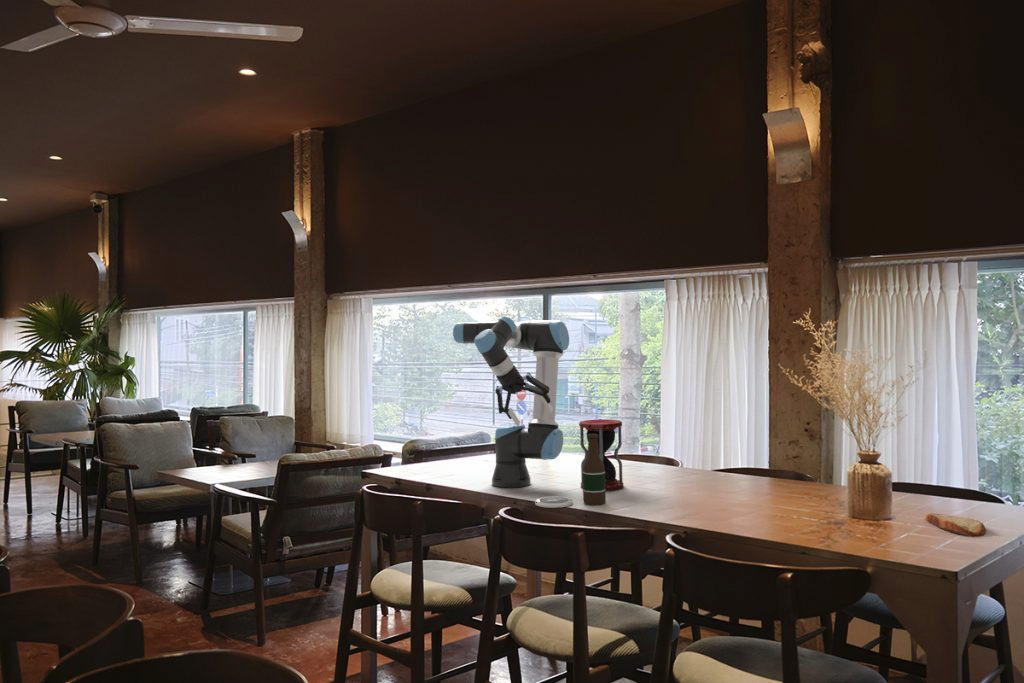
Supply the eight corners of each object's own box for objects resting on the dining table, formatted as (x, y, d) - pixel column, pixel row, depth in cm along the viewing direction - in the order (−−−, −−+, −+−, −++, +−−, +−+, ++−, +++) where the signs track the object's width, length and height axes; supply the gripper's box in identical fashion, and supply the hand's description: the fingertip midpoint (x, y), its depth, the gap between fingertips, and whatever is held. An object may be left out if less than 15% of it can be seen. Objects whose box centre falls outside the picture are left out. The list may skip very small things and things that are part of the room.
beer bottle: (604, 505, 280) (603, 435, 279) (581, 505, 281) (580, 435, 281) (606, 501, 287) (605, 432, 287) (584, 500, 289) (582, 432, 289)
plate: (535, 499, 292) (535, 496, 292) (572, 499, 291) (572, 495, 291) (534, 508, 279) (534, 503, 279) (573, 507, 278) (572, 503, 278)
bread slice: (927, 518, 253) (927, 506, 253) (994, 526, 241) (994, 513, 241) (911, 530, 239) (910, 517, 239) (980, 539, 228) (980, 526, 228)
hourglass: (580, 491, 305) (578, 424, 304) (581, 483, 321) (579, 419, 320) (624, 491, 303) (622, 423, 303) (622, 482, 319) (621, 418, 319)
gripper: (472, 389, 285) (503, 435, 292) (534, 361, 276) (565, 410, 284) (476, 378, 291) (506, 423, 299) (537, 351, 283) (566, 398, 290)
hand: (535, 417), depth 291 cm, fingers open, 13 cm apart
